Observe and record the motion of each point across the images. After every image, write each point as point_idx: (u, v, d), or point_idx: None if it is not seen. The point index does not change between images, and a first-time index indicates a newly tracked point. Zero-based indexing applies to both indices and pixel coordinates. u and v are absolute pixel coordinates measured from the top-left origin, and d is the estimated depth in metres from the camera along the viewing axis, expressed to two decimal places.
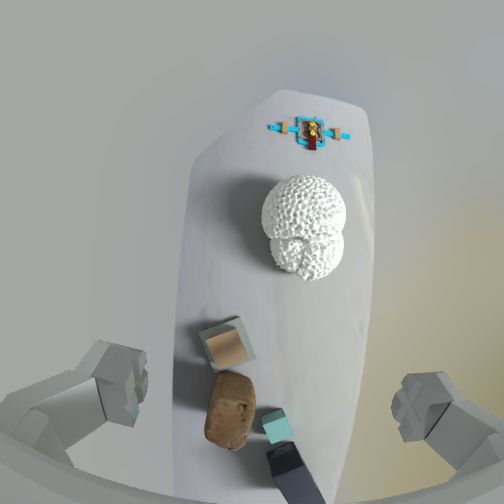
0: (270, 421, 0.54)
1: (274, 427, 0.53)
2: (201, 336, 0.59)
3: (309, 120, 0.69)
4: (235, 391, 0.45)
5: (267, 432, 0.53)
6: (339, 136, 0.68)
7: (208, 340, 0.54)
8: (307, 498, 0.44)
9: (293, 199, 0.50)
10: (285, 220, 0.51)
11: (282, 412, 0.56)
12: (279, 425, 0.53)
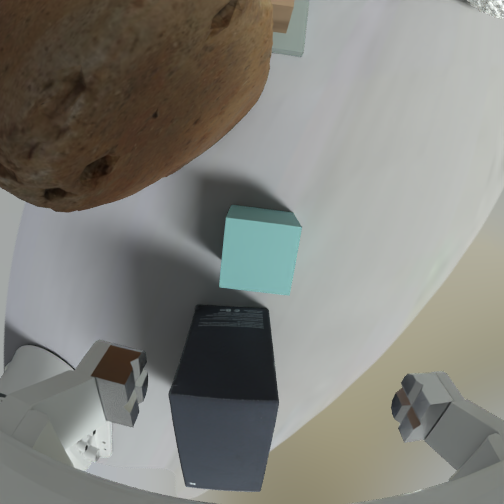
0: (252, 219, 0.20)
1: (253, 242, 0.20)
2: None
3: None
4: None
5: (227, 247, 0.20)
6: None
7: None
8: (229, 471, 0.19)
9: None
10: None
11: (291, 217, 0.23)
12: (269, 244, 0.20)
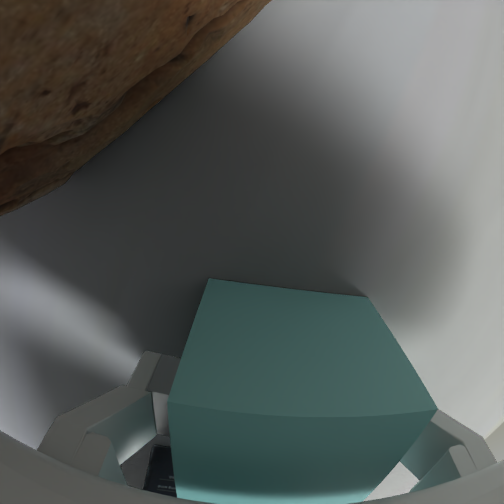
0: (273, 396, 0.05)
1: (274, 460, 0.05)
2: None
3: None
4: None
5: (187, 463, 0.05)
6: None
7: None
8: None
9: None
10: None
11: (382, 336, 0.07)
12: (327, 459, 0.05)
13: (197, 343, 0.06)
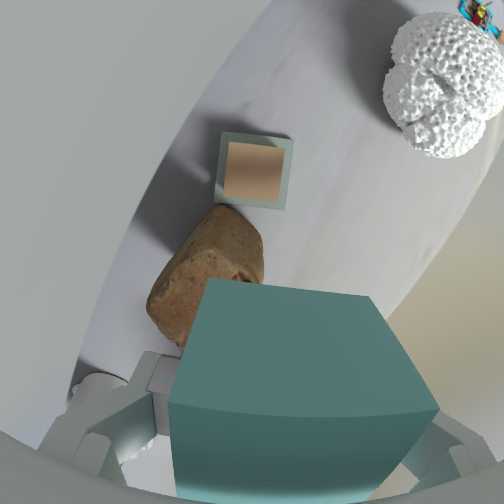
0: (274, 396, 0.05)
1: (275, 460, 0.05)
2: (223, 138, 0.36)
3: (479, 3, 0.27)
4: (239, 244, 0.26)
5: (187, 463, 0.05)
6: (503, 40, 0.28)
7: (233, 144, 0.31)
8: None
9: (464, 33, 0.19)
10: (442, 47, 0.21)
11: (383, 336, 0.07)
12: (328, 460, 0.05)
13: (197, 343, 0.06)
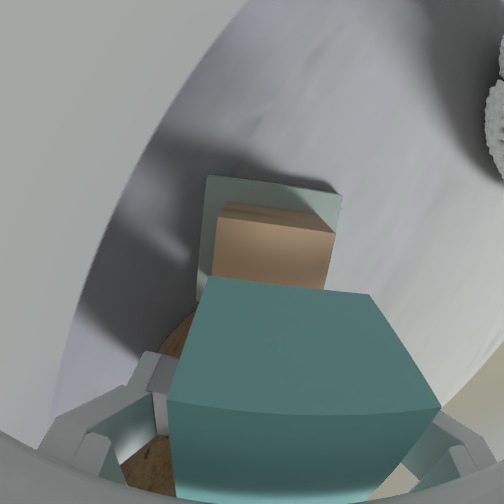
0: (274, 394, 0.05)
1: (275, 459, 0.05)
2: (210, 191, 0.20)
3: None
4: None
5: (186, 462, 0.05)
6: None
7: (227, 223, 0.15)
8: None
9: None
10: None
11: (384, 333, 0.07)
12: (329, 459, 0.05)
13: (197, 340, 0.06)
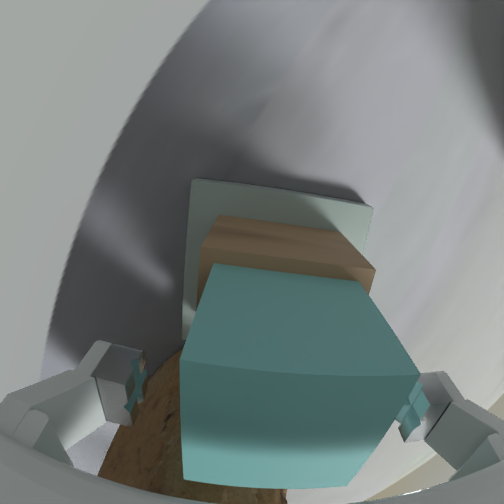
0: (271, 357, 0.06)
1: (273, 420, 0.06)
2: (196, 200, 0.14)
3: None
4: None
5: (194, 425, 0.06)
6: None
7: (215, 256, 0.10)
8: None
9: None
10: None
11: (371, 313, 0.08)
12: (321, 421, 0.06)
13: (205, 314, 0.07)
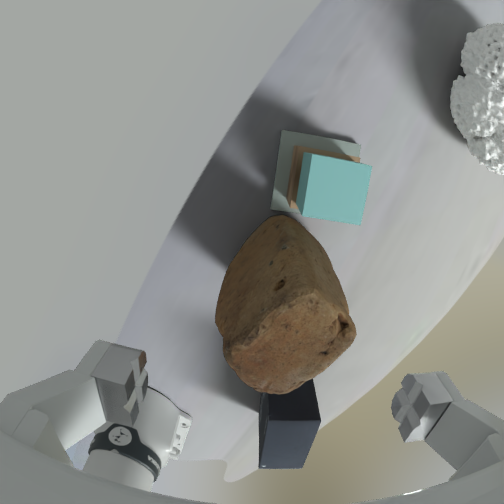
0: None
1: (334, 176, 0.23)
2: (284, 138, 0.31)
3: None
4: (325, 274, 0.22)
5: (312, 179, 0.23)
6: None
7: (304, 149, 0.27)
8: (288, 456, 0.35)
9: None
10: None
11: None
12: (346, 178, 0.23)
13: (311, 153, 0.24)
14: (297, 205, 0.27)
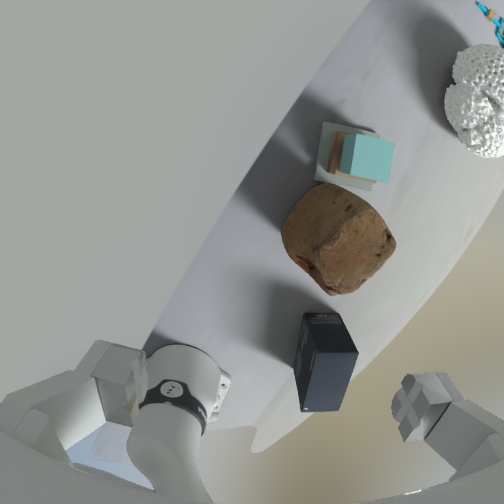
0: (368, 137, 0.32)
1: (370, 149, 0.32)
2: (325, 127, 0.41)
3: None
4: None
5: (356, 150, 0.32)
6: None
7: (345, 133, 0.36)
8: (328, 395, 0.43)
9: None
10: (495, 76, 0.25)
11: None
12: (378, 150, 0.32)
13: (353, 134, 0.33)
14: (342, 171, 0.37)
